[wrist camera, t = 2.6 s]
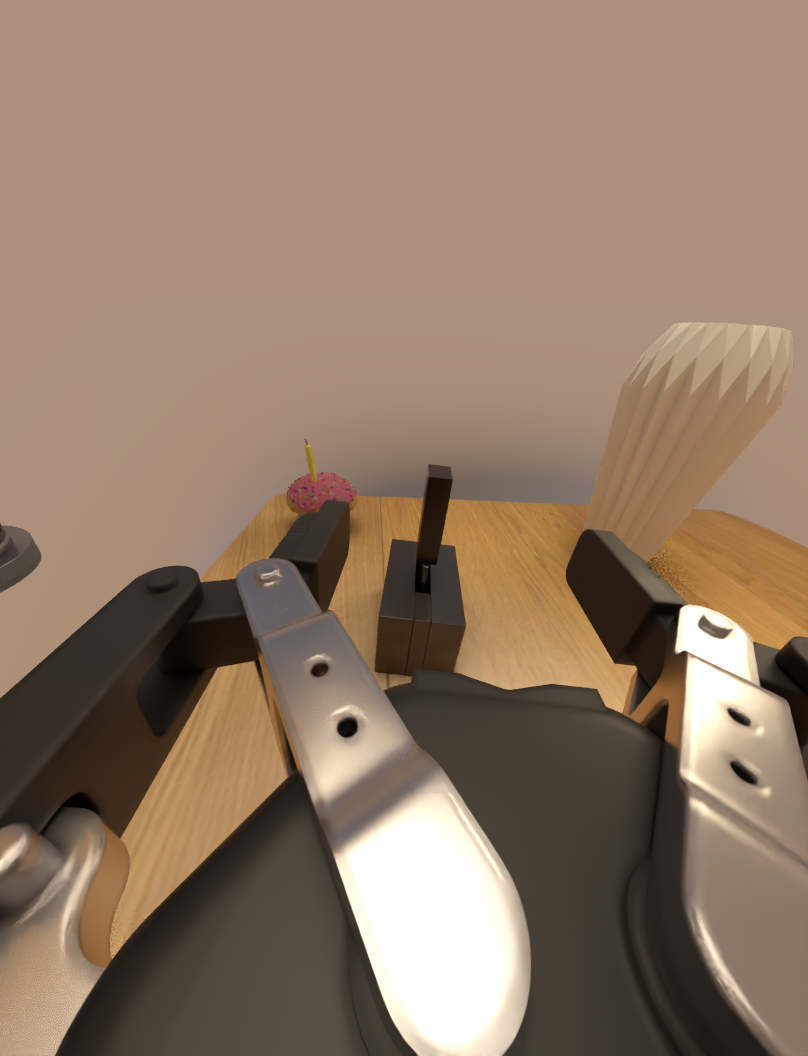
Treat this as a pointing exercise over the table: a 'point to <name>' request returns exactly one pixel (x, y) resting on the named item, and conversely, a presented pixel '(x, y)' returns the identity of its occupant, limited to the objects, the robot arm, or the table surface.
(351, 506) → the cupcake
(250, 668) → the table surface
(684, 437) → the vase
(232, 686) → the table surface
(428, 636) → the knife block
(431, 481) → the knife
